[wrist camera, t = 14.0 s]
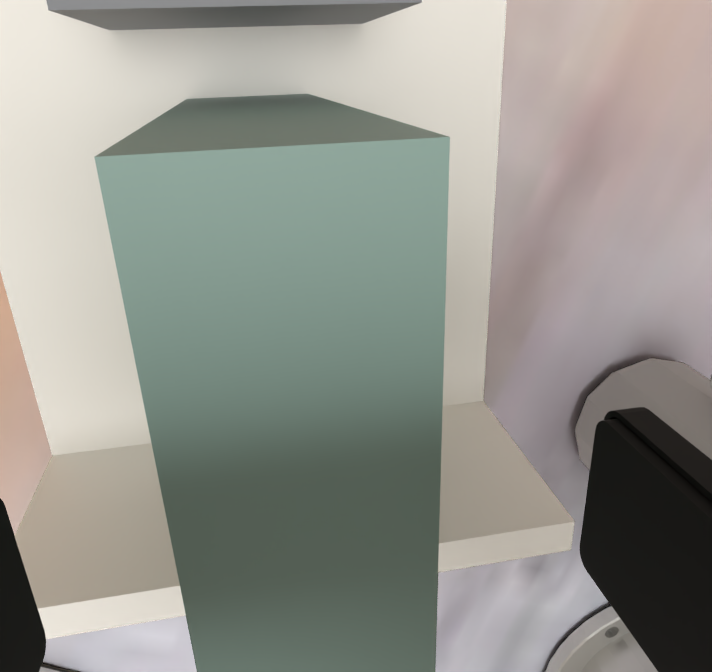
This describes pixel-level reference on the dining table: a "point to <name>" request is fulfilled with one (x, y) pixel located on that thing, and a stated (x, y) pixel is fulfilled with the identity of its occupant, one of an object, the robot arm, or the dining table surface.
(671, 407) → the water bottle
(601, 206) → the dining table surface
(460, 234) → the shelf
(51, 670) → the candy bar box
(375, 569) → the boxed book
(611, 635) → the robot arm
